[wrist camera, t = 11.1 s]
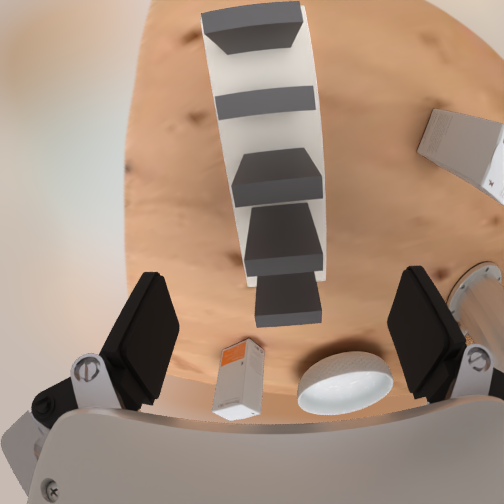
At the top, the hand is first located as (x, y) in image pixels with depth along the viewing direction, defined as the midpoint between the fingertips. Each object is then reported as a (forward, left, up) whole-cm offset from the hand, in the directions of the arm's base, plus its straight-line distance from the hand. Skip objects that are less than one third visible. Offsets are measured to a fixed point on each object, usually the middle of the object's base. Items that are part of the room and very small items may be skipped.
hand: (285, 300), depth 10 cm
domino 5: (-11, 0, -20) cm, 23 cm away
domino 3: (+1, 0, -20) cm, 20 cm away
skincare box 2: (+3, -19, -20) cm, 28 cm away
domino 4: (-5, 0, -20) cm, 20 cm away
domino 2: (+7, 0, -20) cm, 21 cm away
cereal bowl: (-36, -9, -20) cm, 42 cm away
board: (+1, 0, -20) cm, 20 cm away
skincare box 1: (-29, +8, -20) cm, 37 cm away
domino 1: (+13, 0, -20) cm, 23 cm away
